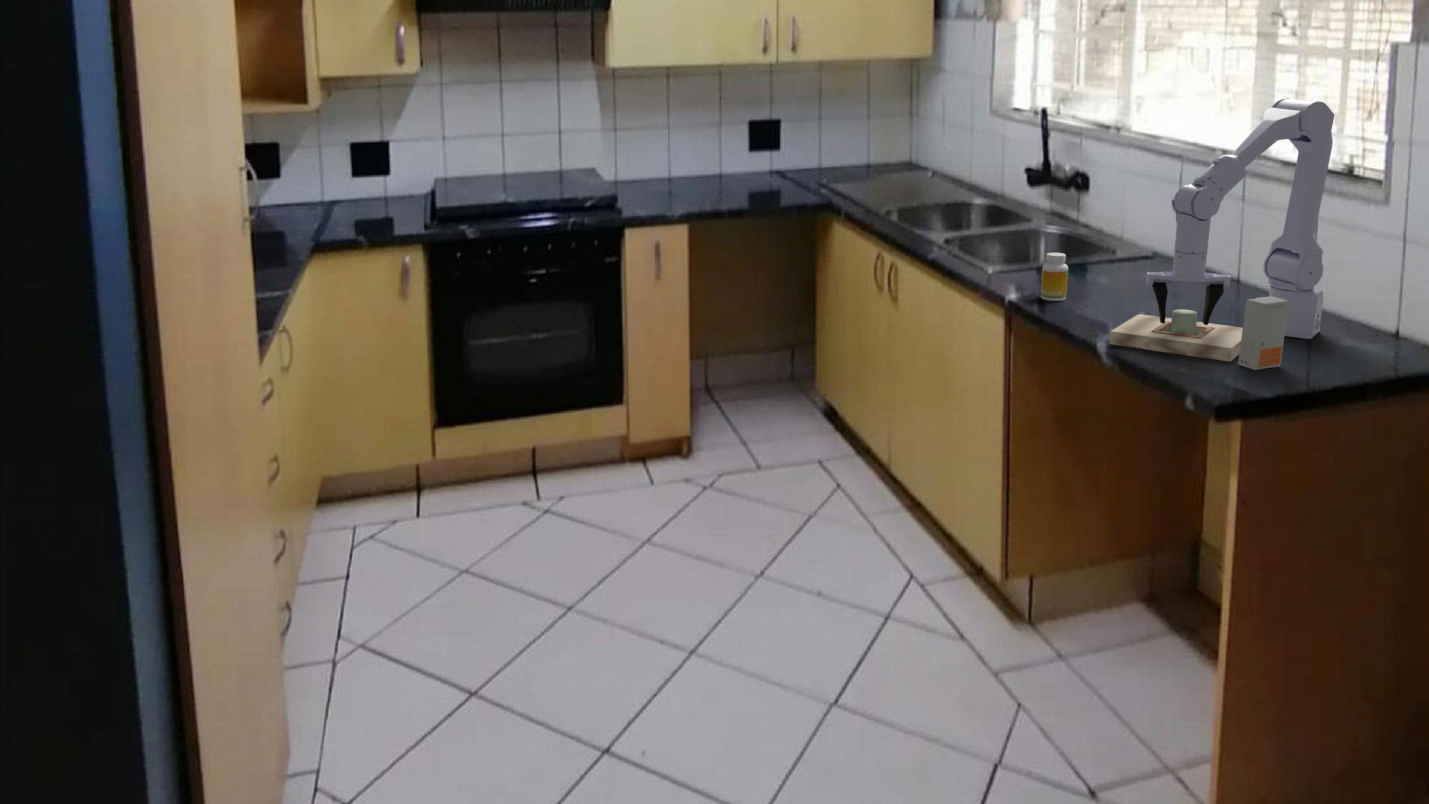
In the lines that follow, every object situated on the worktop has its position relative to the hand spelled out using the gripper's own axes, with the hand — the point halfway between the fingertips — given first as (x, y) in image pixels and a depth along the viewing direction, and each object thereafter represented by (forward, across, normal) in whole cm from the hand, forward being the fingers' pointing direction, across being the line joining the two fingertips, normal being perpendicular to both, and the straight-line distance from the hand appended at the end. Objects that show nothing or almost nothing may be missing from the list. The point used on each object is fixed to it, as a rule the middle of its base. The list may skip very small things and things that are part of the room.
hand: (1183, 322), depth 243 cm
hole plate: (+4, 0, 0) cm, 4 cm away
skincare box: (+4, -12, +14) cm, 18 cm away
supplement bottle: (+4, +22, -34) cm, 41 cm away
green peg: (+4, 0, 0) cm, 4 cm away
